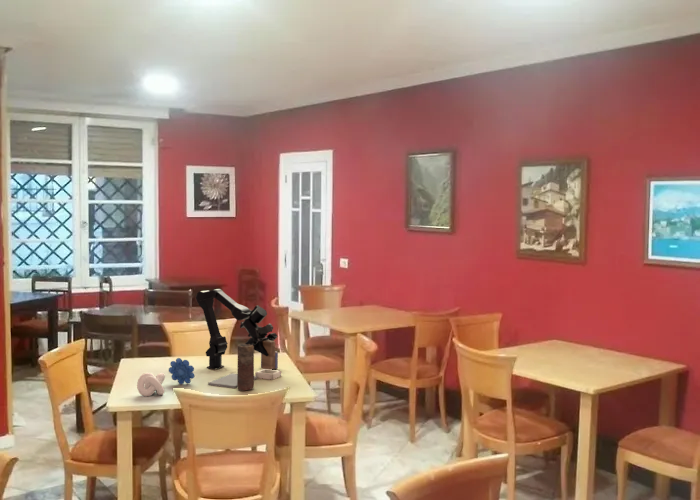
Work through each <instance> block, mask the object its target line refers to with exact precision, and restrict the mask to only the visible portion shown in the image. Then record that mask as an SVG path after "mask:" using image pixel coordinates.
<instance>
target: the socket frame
mask: <svg viewBox="0 0 700 500" xmlns="http://www.w3.org/2000/svg"><path fill="white" fill-rule="evenodd" d="M254 376H258V378H257V379H262V378H263V380H270V379H271V380H273V379H274V380H276V379H278V378H280V377H282V370H278V369H277V370H272V369H271V370H269V369H262V368H261V369H260V370H258V371H254ZM279 376H280V377H279ZM277 377H278V378H277ZM275 378H276V379H275Z"/></svg>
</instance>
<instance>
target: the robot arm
mask: <svg viewBox="0 0 700 500" xmlns="http://www.w3.org/2000/svg"><path fill="white" fill-rule="evenodd" d="M195 299H196V303H197V304H198V306H199V307H200V308H201V309H202V311H203V315H204V318H205V319H204V320H205V321H206V325H207V330H208V332H209V336H210V338H209V342H208V344H209V347H208V349H207V350H206V351H205V356H206V357H208V366H206V369H213V370H219V369H222V368H224V367H225V365H222V363H223V362H222V360H223V359H222V356H224V355H225V354H226V351H227V349H228V342H227V338H226V336H222V335H221V332H220V328H219V325H218V322H217V321H218V320H217V317H216V314H215V311H214V302H215V299H216V300H217V301H218V302H219V303H221V304H222V305H223V306H224V307H225V308H226V309H228V310H229V311H230V313H231V315H232V317H234V319H236V321H241V322H240V325H239V328H240V329H242V328H245V330H246V331H247V333H248V335H247V336H248V338H249V337H250V338H249V339H247V340H246V342H245V343H244V344H246V345H247V344H250V345H252V346H254V351H256V352H258V353H260V354H261V353H262V354H263V355H265V356H268V353H267V351H266V349H265V348H264V346H263V341H265V340H270V341H275V340H276V339H277V338H278V337H279V336H278V334H277V333H276V332H273V330H274V326H273V324H272V323H268V324H266V325H263V326H259V325H258V324H260V323H261V322H262V321H263V320H264V319H265V318H266V316H267V315H268V313H267V310H266V309H264V308H263V307H262V306H260V305H255V306H254V307H253V308H252V310H251V309H250V308H248V307H247V306H245V305H242V304H239V303H237V302H236V301H235V300H234V299H233V298H232V297H230V296H229V295H227V293H225V292H224V291H223V290H222V289H221V288H216V289H213V290H201V291H198V292H197V293H196V295H195ZM242 320H243V321H242Z"/></svg>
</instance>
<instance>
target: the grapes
mask: <svg viewBox="0 0 700 500" xmlns="http://www.w3.org/2000/svg"><path fill="white" fill-rule="evenodd" d="M169 365H170V366H169V368H168V373H170V374H171V380H173V381H177V383H178V384H179V385H183V384H184V383H185V384H188V385H189V384H190V383H191V382H192V381H191V380H192V379H195V376H196V374H195V373H194V371H195V367H194V366H193V365H192V364H190V362H189V360H188V359H182V358H181V357H178V358H176V360H171V361H170V363H169Z"/></svg>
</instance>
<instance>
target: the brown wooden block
mask: <svg viewBox="0 0 700 500" xmlns="http://www.w3.org/2000/svg"><path fill="white" fill-rule="evenodd" d="M263 346H264V348H265V349H266V351H267V353H268V356H265V355H263V354H262V368H261V370H262V369H269V370H272V369H274V368H275V351H276V341H275V340H274V341H270V340H265V341H263Z"/></svg>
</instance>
